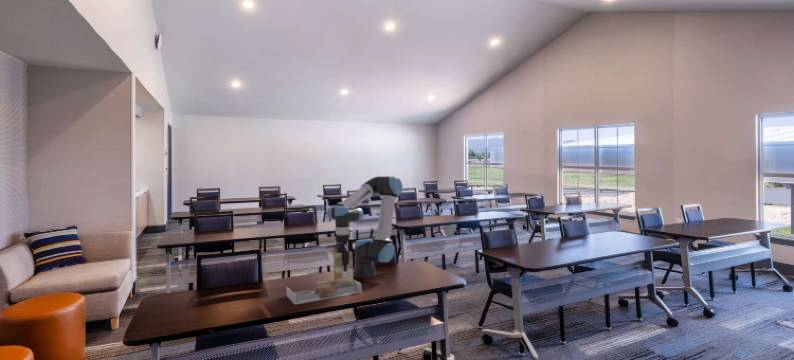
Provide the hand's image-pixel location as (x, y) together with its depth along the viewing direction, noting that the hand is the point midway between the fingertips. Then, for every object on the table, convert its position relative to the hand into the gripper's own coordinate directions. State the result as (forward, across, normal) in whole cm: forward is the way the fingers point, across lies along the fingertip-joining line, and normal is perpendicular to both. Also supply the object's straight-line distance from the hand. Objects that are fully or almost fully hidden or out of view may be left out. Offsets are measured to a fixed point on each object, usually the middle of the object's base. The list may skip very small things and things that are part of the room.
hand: (343, 275), depth 240 cm
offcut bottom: (+8, 0, -11) cm, 14 cm away
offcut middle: (+6, +1, -11) cm, 13 cm away
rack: (+10, 0, -11) cm, 15 cm away
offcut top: (+4, -1, -12) cm, 13 cm away
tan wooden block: (+4, 0, 0) cm, 4 cm away
